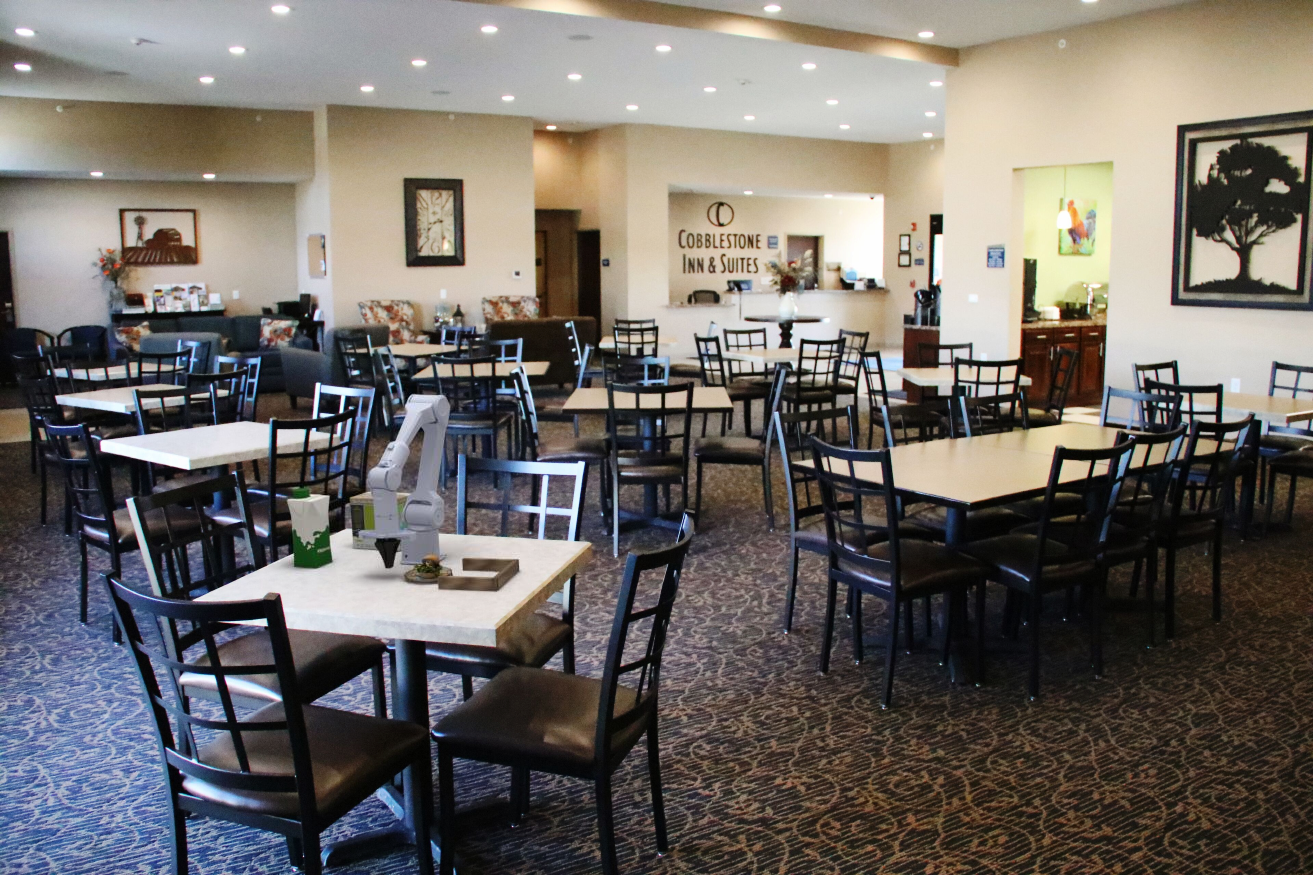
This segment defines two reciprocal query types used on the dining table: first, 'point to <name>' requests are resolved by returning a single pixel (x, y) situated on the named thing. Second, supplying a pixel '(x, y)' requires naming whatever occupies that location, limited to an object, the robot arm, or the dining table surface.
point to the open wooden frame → (504, 567)
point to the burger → (428, 570)
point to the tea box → (370, 517)
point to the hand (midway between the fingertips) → (389, 567)
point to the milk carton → (310, 529)
